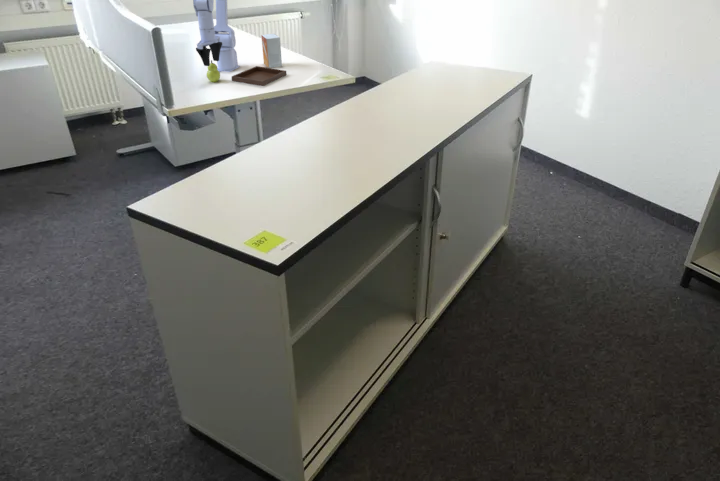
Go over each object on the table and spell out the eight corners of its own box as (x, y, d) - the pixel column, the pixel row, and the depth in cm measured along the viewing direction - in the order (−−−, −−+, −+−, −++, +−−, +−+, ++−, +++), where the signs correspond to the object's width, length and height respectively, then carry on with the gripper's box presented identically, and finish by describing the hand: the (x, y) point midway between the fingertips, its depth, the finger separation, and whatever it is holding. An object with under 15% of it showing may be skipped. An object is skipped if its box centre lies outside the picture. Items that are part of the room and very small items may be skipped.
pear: (211, 79, 233) (208, 57, 228) (223, 80, 232) (220, 59, 227) (205, 83, 229) (202, 61, 224) (216, 84, 227) (213, 62, 222)
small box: (263, 64, 253) (261, 34, 246) (276, 62, 255) (274, 33, 248) (268, 69, 247) (266, 38, 240) (282, 67, 249) (280, 37, 242)
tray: (256, 71, 244) (256, 66, 243) (286, 76, 238) (286, 70, 237) (232, 81, 231) (231, 76, 229) (262, 87, 225) (262, 81, 224)
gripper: (206, 33, 212) (211, 68, 219) (224, 25, 223) (228, 59, 231) (190, 31, 213) (195, 67, 221) (209, 24, 225) (213, 57, 233)
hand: (211, 63), depth 226 cm, fingers open, 7 cm apart
